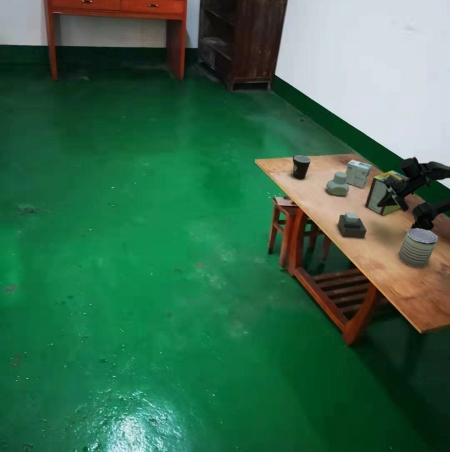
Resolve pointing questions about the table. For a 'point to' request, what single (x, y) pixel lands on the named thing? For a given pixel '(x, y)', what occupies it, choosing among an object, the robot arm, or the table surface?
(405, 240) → the can
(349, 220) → the pad
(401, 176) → the protein box
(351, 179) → the light bulb box
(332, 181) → the air freshener
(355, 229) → the stepped grey pedestal
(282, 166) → the table surface
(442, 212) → the robot arm
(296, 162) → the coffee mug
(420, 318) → the table surface
